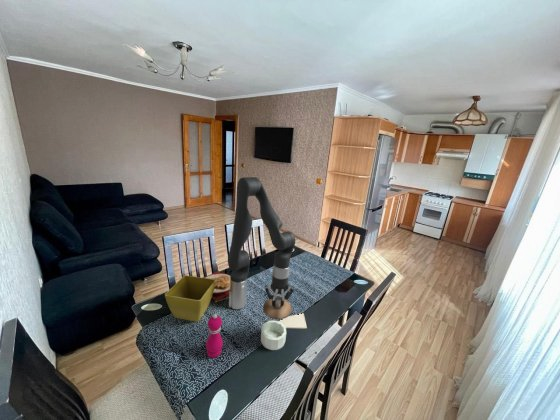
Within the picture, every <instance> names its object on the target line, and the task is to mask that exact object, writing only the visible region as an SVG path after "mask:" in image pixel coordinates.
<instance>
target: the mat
mask: <svg viewBox="0 0 560 420" xmlns="http://www.w3.org/2000/svg"><path fill="white" fill-rule="evenodd" d="M301 313H302V314H301ZM301 313H298V314H299V315H297V314H292V315H289V316H288V317H287V318H284V319H283V320H280V321H278V322H281V323H282V324H283V325H284V326H285V327H286V329H303V330H304V329H308V327H307V323H306V318H305V314H304V312H301Z"/></svg>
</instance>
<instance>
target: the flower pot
mask: <svg viewBox="0 0 560 420" xmlns="http://www.w3.org/2000/svg"><path fill="white" fill-rule="evenodd" d="M214 286H215V280H214V279H207V278H203V277H199V276H193V275H183V276H182V277H181V278H180V279H179V280H178V281H177V282H175V284H174V285H173V286H172V287H170V288H169V289H168V291H167V292H165V293H164V297H165V301H166V304H167V307H168V308H169V310H170V313H171V314H172V316H173V317H174V318H176V319H180V320H185V321H191V322H193V323H194V322H195V323H197V322H199V321H201V319H202V317H203V315H204V314H205V312H206V311H207V309H208V307H210V304H211V301H212V299H213V298H212V295H213V291H214Z"/></svg>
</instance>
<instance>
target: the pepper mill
mask: <svg viewBox="0 0 560 420" xmlns="http://www.w3.org/2000/svg"><path fill="white" fill-rule="evenodd" d="M222 323H223V320H222V318H221V316H219V315H217V314H216V313H215V314H213V315H212V316H211V317H210V318H209V319H208V320H207V326H208V332H209V336H208V338H207V340H206V343H205V348H206V350H207V351H206V352H207V356H208V357H209V358H217V357H219V356H220V355H221V353H222V351H223V350H222V348H223V344H224V341H223V338H222V336H221V333H220V331H221V328H222Z"/></svg>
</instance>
